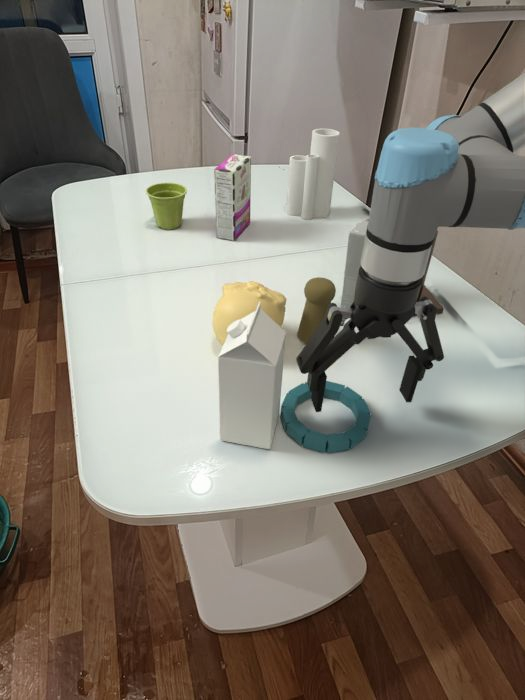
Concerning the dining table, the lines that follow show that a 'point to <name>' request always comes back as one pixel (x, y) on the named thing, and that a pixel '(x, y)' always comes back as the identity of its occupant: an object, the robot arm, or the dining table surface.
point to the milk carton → (251, 380)
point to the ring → (322, 440)
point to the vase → (313, 177)
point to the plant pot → (167, 204)
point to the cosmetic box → (353, 262)
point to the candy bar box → (232, 196)
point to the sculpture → (245, 305)
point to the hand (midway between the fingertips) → (361, 400)
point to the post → (423, 289)
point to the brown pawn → (315, 306)
